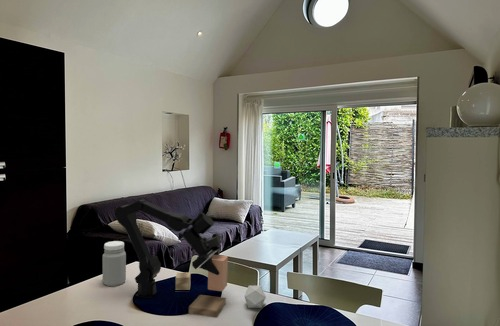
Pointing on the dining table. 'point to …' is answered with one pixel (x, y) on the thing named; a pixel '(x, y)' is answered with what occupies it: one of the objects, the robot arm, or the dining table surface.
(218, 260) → the pillar
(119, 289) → the dining table surface
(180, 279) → the oak cube
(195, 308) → the slab
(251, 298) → the die
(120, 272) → the jar
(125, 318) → the dining table surface
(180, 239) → the robot arm
